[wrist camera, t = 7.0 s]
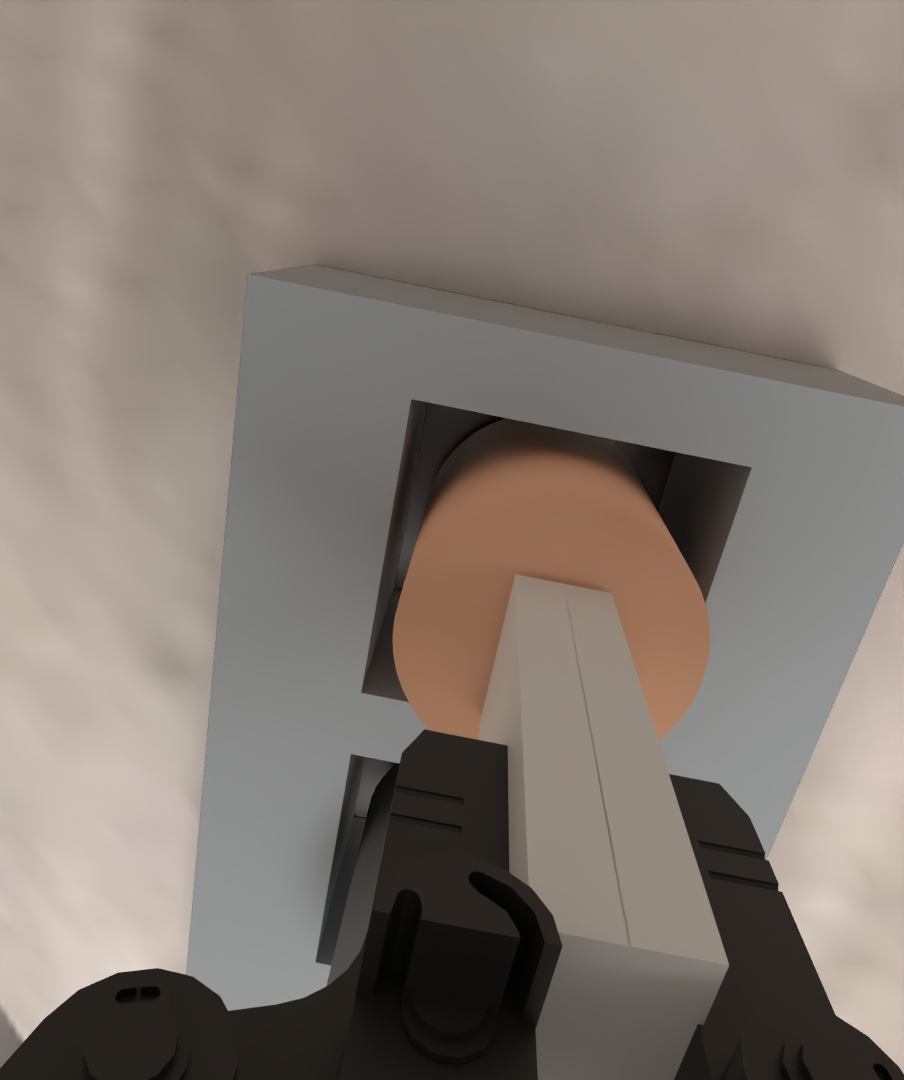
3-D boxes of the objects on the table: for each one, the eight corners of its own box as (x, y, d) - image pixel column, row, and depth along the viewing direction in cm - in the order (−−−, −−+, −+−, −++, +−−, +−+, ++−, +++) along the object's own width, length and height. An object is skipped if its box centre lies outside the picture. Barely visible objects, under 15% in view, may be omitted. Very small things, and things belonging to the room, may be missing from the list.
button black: (384, 723, 18) (331, 936, 13) (594, 764, 18) (634, 994, 13) (354, 885, 20) (296, 1134, 15) (545, 922, 20) (561, 1184, 15)
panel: (315, 264, 18) (247, 274, 13) (838, 370, 18) (957, 417, 13) (228, 1010, 26) (168, 1176, 22) (578, 1078, 26) (594, 1257, 22)
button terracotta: (448, 394, 17) (421, 469, 12) (672, 438, 17) (753, 535, 12) (410, 597, 19) (370, 747, 13) (613, 637, 19) (658, 803, 13)
